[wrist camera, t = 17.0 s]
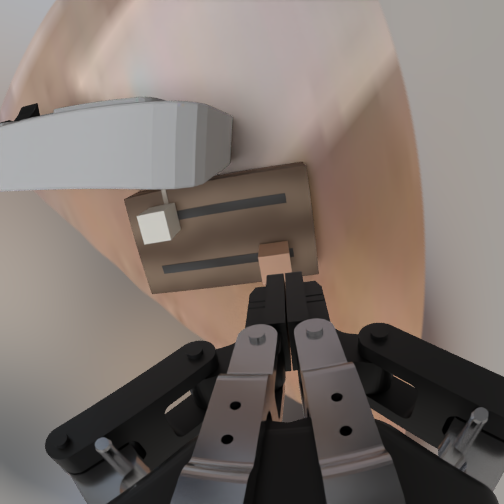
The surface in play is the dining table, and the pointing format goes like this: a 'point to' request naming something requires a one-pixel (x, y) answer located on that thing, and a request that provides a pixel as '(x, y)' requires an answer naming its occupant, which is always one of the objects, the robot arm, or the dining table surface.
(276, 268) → the block
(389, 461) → the robot arm
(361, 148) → the dining table surface
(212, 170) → the rounded white slab
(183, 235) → the console
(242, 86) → the dining table surface
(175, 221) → the block
